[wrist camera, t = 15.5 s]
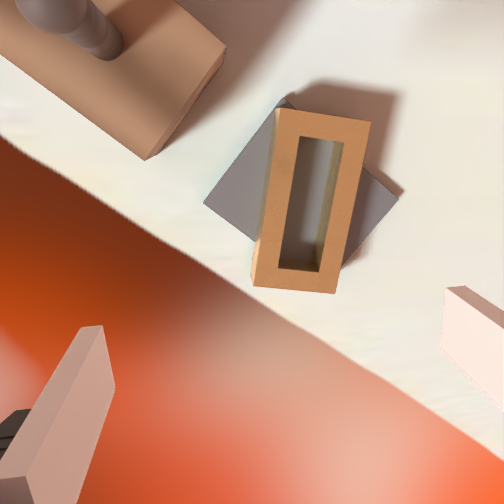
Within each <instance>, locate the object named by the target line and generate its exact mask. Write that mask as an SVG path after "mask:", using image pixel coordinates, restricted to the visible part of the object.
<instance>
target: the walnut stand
mask: <svg viewBox="0 0 504 504" xmlns="http://www.w3.org/2000/svg"><path fill="white" fill-rule="evenodd" d="M225 49H226V45H225V44H224V43H222V42H221V41H220V40H219V39H218V38H217V37H216V36H214V35H213V34H212V33H211V32H210V31H209V30H208V29H207V28H205V27H204V26H203V25H202V24H201V23H200V22H199V21H197V20H196V19H195V18H194V17H193V16H192V15H191V14H189V13H188V12H187V11H186V10H185V9H184V8H183V7H181V6H180V5H179V4H178V3H177V2H176V1H175V0H0V54H1V55H2V56H3V57H5V58H6V59H7V60H9V61H10V62H11V63H13V64H14V65H15V66H17V67H18V68H20V69H21V70H22V71H24V72H25V73H26V74H28V75H29V76H30V77H32V78H33V79H34V80H36V81H37V82H38V83H40V84H41V85H42V86H44V87H45V88H47V89H48V90H49V91H51V92H52V93H53V94H55V95H56V96H57V97H59V98H60V99H61V100H63V101H64V102H65V103H67V104H68V105H69V106H71V107H72V108H74V109H75V110H76V111H78V112H79V113H80V114H82V115H83V116H84V117H86V118H87V119H88V120H90V121H91V122H92V123H94V124H95V125H96V126H98V127H99V128H101V129H102V130H103V131H105V132H106V133H107V134H109V135H110V136H111V137H113V138H114V139H115V140H117V141H118V142H119V143H121V144H122V145H123V146H125V147H126V148H128V149H129V150H130V151H132V152H133V153H134V154H136V155H137V156H138V157H140V158H141V159H142V160H144V161H145V160H147V159H149V158H151V157H153V156H155V155H157V154H158V153H159V152H160V150H161V149H162V147H163V146H164V145H165V143H166V142H167V140H168V139H169V138H170V136H171V135H172V133H173V132H174V131H175V129H176V128H177V126H178V125H179V124H180V122H181V121H182V119H183V118H184V117H185V115H186V114H187V112H188V111H189V110H190V108H191V107H192V105H193V104H194V103H195V101H196V100H197V98H198V97H199V96H200V94H201V93H202V91H203V90H204V89H205V87H206V86H207V84H208V83H209V82H210V80H211V79H212V77H213V76H214V75H215V73H216V72H217V70H218V69H219V68H220V66H221V65H222V63H223V60H224V54H225Z"/></svg>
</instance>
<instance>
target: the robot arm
mask: <svg viewBox="0 0 504 504" xmlns="http://www.w3.org/2000/svg"><path fill="white" fill-rule="evenodd" d="M441 350H442V351H443V352H444V353H445V354H446V355H447V356H448V357H449V358H450V359H451V360H452V361H453V362H454V363H455V364H456V365H457V366H458V367H459V368H460V369H461V370H462V371H463V372H464V373H465V374H466V375H467V376H468V377H469V378H470V379H471V380H472V381H473V382H474V383H475V384H476V385H477V386H478V387H479V388H480V389H481V390H482V391H483V392H484V393H485V394H486V395H487V396H488V397H489V398H490V399H491V400H492V401H493V402H494V403H495V404H496V405H497V406H498V407H499V408H500V409H501V410H502V411H503V412H504V311H502V310H501V309H499V308H498V307H496V306H495V305H493V304H492V303H490V302H489V301H487V300H486V299H484V298H483V297H481V296H480V295H478V294H477V293H475V292H474V291H472V290H470V289H469V288H467V287H466V286H458V287H448V288H446V293H445V304H444V315H443V326H442V337H441ZM115 389H116V388H115V383H114V379H113V374H112V369H111V364H110V360H109V355H108V350H107V345H106V340H105V336H104V331H103V326H102V325H101V326H91V327H82V328H80V330H79V332H78V334H77V335H76V337H75V338H74V340H73V342H72V343H71V345H70V347H69V348H68V350H67V352H66V353H65V355H64V356H63V358H62V360H61V361H60V363H59V365H58V367H57V368H56V369H55V371H54V373H53V374H52V376H51V378H50V380H49V381H48V383H47V384H46V386H45V388H44V389H43V391H42V393H41V394H40V396H39V398H38V399H37V401H36V403H35V404H34V406H33V407H32V409H25V410H16V411H15V412H13V413H12V414H11V415H10V416H9V417H8V418H6V419H5V420H4V421H3V422H2V423H1V424H0V504H76V502H77V500H78V497H79V494H80V491H81V488H82V485H83V482H84V479H85V476H86V473H87V471H88V468H89V465H90V462H91V459H92V456H93V453H94V450H95V447H96V444H97V441H98V439H99V436H100V433H101V430H102V427H103V424H104V421H105V418H106V415H107V412H108V409H109V406H110V403H111V401H112V398H113V394H114V392H115Z"/></svg>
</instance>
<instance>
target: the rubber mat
mask: <svg viewBox="0 0 504 504" xmlns="http://www.w3.org/2000/svg"><path fill="white" fill-rule="evenodd" d="M277 108H287V109H293V110H297V109H295V108H294V107H293V106H292V105H291V104H290V103H289V102H287V101H286V100H285V99H284V98H282V99H281V100H280V101H279V103H278V104H277V105H276V107H275V108H274V109H273V111H272V112H271V113H270V115H269V116H268V117H267V119H266V120H265V121H264V123H263V124H262V125H261V127H260V128H259V129H258V130H257V132H256V133H255V134H254V136H253V137H252V138H251V140H250V141H249V142H248V144H247V145H246V146H245V148H244V149H243V150H242V152H241V153H240V154H239V156H238V157H237V158H236V160H235V161H234V162H233V163H232V165H231V166H230V167H229V169H228V170H227V171H226V173H225V174H224V175H223V177H222V178H221V179H220V181H219V182H218V183H217V185H216V186H215V187H214V189H213V190H212V191H211V193H210V194H209V195H208V197H207V198H206V199H205V200H204V202H203V204H205V205H206V206H207V207H209V208H210V209H211V210H213V211H214V212H215V213H217V214H218V215H220V216H221V217H222V218H224V219H225V220H226V221H228V222H229V223H230V224H232V225H233V226H234V227H236V228H237V229H238V230H240V231H241V232H242V233H244V234H245V235H246V236H248V237H249V238H251V239H252V240H253V241H256V234H257V227H258V221H259V214H260V207H261V200H262V193H263V187H264V180H265V173H266V166H267V160H268V153H269V146H270V139H271V133H272V126H273V119H274V112H275V109H277ZM333 146H334V142H333V141H329V140H323V139H316V138H309V137H302V136H300V137H299V143H298V149H297V155H296V161H295V167H294V173H293V179H292V185H291V191H290V197H289V203H288V209H287V215H286V221H285V227H284V233H283V239H282V245H281V251H280V257H279V259H283V260H292V261H302V262H312V257H313V252H314V246H315V241H316V236H317V231H318V225H319V220H320V215H321V210H322V204H323V199H324V194H325V189H326V183H327V178H328V173H329V167H330V162H331V157H332V152H333ZM397 201H398V198H397V197H396V196H395V195H393V194H392V193H391V192H390V191H389V190H388V189H387V188H385V187H384V186H383V185H382V184H381V183H380V182H379V181H377V180H376V179H375V178H374V177H373V176H372V175H371V174H369V173H368V172H367V171H366V170H365V169H364V168H363V167H362V169H361V174H360V179H359V183H358V188H357V193H356V198H355V202H354V207H353V212H352V216H351V221H350V226H349V231H348V235H347V240H346V245H345V249H344V254H343V259H342V264H341V266H342V265H343V263H344V262H345V261H346V260H347V259H348V258H349V256H350V255H351V254H352V253H353V252H354V251H355V249H356V248H357V247H358V246H359V245H360V244H361V242H362V241H363V240H364V239H365V238H366V237H367V236H368V234H369V233H370V232H371V231H372V230H373V229H374V227H375V226H376V225H377V224H378V223H379V222H380V220H381V219H382V218H383V217H384V216H385V215H386V213H387V212H388V211H389V210H390V209H391V208H392V206H393V205H394V204H395V203H396V202H397Z"/></svg>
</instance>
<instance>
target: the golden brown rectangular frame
mask: <svg viewBox="0 0 504 504" xmlns="http://www.w3.org/2000/svg"><path fill="white" fill-rule="evenodd" d="M370 127H371V122H370V121H364V120H357V119H351V118H344V117H338V116H332V115H325V114H319V113H312V112H306V111H300V110H293V109H287V108H277V109H275V112H274V119H273V126H272V133H271V139H270V146H269V153H268V160H267V166H266V173H265V180H264V187H263V193H262V200H261V207H260V214H259V221H258V227H257V234H256V241H255V248H254V254H253V261H252V268H251V279H252V283H253V286H257V287H267V288H278V289H288V290H298V291H309V292H319V293H330V294H335V292H336V287H337V283H338V278H339V273H340V268H341V264H342V259H343V254H344V249H345V245H346V240H347V235H348V231H349V226H350V221H351V216H352V212H353V207H354V202H355V198H356V193H357V188H358V183H359V179H360V174H361V169H362V164H363V160H364V155H365V150H366V146H367V141H368V136H369V131H370ZM300 136H302V137H309V138H316V139H323V140H329V141H334V146H333V152H332V157H331V162H330V167H329V173H328V178H327V183H326V189H325V194H324V199H323V204H322V210H321V215H320V220H319V225H318V231H317V236H316V241H315V246H314V252H313V257H312V262H302V261H292V260H283V259H279V257H280V251H281V245H282V239H283V233H284V227H285V221H286V215H287V209H288V203H289V197H290V191H291V185H292V179H293V173H294V167H295V161H296V155H297V149H298V143H299V137H300Z"/></svg>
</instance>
